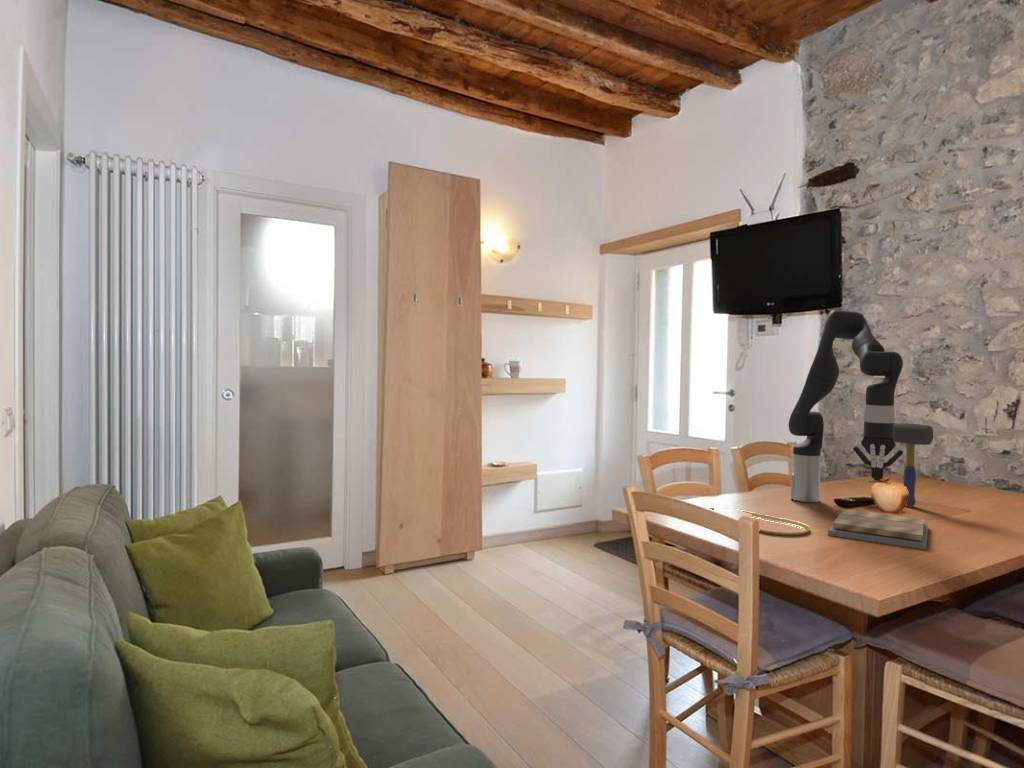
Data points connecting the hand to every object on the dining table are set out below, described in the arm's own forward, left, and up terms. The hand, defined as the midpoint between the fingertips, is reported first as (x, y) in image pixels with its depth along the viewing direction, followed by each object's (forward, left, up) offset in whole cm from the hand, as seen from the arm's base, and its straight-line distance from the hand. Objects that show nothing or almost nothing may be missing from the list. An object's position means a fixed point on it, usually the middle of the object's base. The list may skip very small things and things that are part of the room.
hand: (877, 480), depth 176 cm
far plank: (0, +17, -15) cm, 23 cm away
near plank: (0, +1, -15) cm, 15 cm away
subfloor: (0, +9, -17) cm, 19 cm away
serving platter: (-34, -4, -18) cm, 38 cm away
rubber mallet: (+6, +56, -17) cm, 59 cm away
